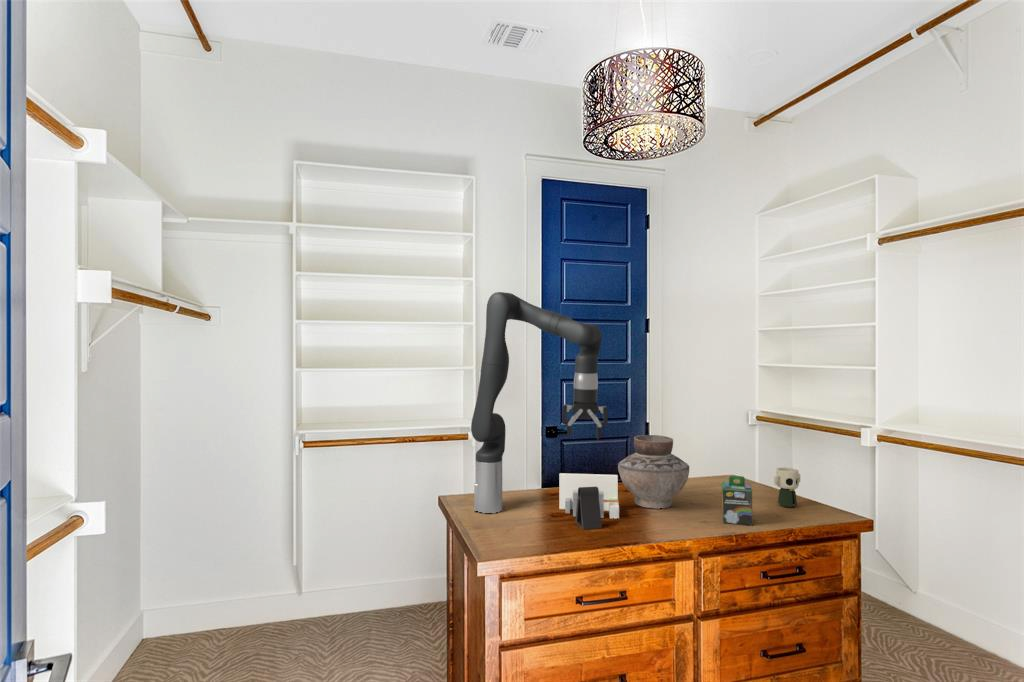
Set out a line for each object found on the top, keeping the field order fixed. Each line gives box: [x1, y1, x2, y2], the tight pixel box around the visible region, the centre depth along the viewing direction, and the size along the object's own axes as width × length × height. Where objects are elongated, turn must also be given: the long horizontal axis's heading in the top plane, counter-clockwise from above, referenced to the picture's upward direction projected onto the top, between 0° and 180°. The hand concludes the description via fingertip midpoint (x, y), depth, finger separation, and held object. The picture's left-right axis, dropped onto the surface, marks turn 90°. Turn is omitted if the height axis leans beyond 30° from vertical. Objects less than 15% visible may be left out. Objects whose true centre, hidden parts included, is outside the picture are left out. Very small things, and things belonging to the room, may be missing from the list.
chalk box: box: [721, 475, 754, 526], centre depth 193 cm, size 9×9×15 cm
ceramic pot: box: [617, 434, 690, 510], centre depth 212 cm, size 25×25×24 cm
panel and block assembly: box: [558, 472, 620, 519], centre depth 201 cm, size 20×11×12 cm, turn 83°
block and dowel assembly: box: [572, 490, 620, 519], centre depth 197 cm, size 15×3×8 cm, turn 83°
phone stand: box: [574, 487, 603, 531], centre depth 188 cm, size 9×6×12 cm, turn 10°
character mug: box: [773, 466, 801, 508], centre depth 210 cm, size 11×7×13 cm, turn 107°
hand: (584, 438), depth 187 cm, fingers open, 8 cm apart
